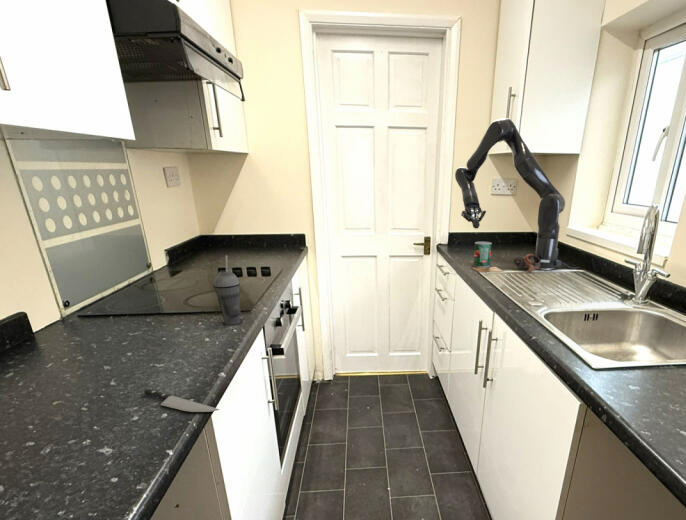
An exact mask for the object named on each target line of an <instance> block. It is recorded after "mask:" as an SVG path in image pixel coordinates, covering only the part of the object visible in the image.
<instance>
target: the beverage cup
mask: <svg viewBox="0 0 686 520" xmlns="http://www.w3.org/2000/svg"><path fill="white" fill-rule="evenodd" d="M224 257H225V259H224V260H225V270H221V271H219V272H217V273H216V274H215V276H214V278H213V280H212V287H213V289H214V292H215V294H216V297H217V301H218V304H219V308H220V312H221V315H222V319H223V322H224V324H225V325H228V326H231V325H237V324H240V323H241V320H242V319H241V299H240V289H241V288H240V287H241V286H240V285H241V283H240V281H239V278H238V276H237V275H236V274H235V273H234V272H232V271H229V269H228V268H229V267H228V266H229V265H228V264H229V263H228V254H227V255H225V256H224Z"/></svg>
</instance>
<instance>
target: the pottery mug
mask: <svg viewBox="0 0 686 520" xmlns="http://www.w3.org/2000/svg"><path fill="white" fill-rule="evenodd" d="M531 259H533V261H534V260H536V261H538V263H534V262H533V261H531ZM532 262H533V264H532ZM540 263H541V260H540V258H539V257H537V256H536V255H535V254H532V253H527V255H525V256H523V257H521V256H516V257H514V259H513V264H514V265H515V266H516V267H517V268H518V269H519V270H520V268H525V269H528V272H529V273H532V272H533V271H536V270H539V269H538V268H539V267H540Z"/></svg>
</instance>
